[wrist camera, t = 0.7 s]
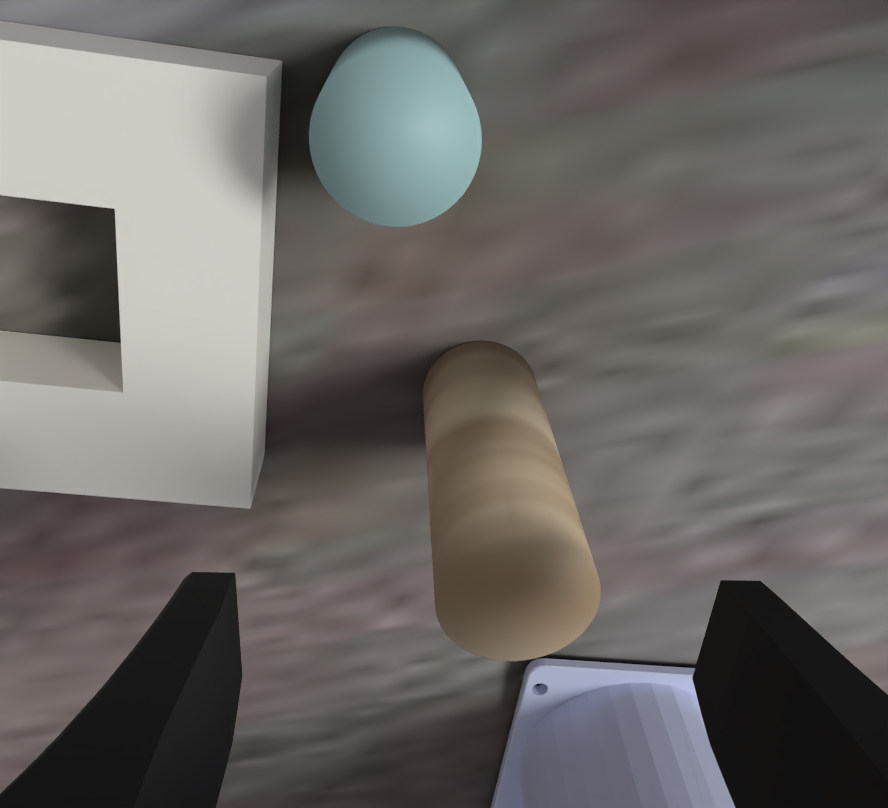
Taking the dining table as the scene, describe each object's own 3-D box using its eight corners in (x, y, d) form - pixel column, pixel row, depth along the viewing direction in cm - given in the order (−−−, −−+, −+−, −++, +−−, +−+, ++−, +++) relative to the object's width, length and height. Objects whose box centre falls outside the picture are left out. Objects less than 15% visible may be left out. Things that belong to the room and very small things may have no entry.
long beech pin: (524, 446, 23) (580, 666, 16) (415, 436, 23) (425, 655, 16) (545, 347, 22) (618, 540, 15) (430, 335, 21) (448, 527, 14)
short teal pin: (453, 177, 19) (467, 235, 15) (323, 160, 19) (303, 216, 15) (472, 37, 18) (495, 63, 14) (332, 16, 18) (315, 37, 14)
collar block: (264, 454, 23) (250, 508, 20) (-130, 419, 22) (-189, 472, 19) (282, 60, 18) (266, 76, 16) (-220, -11, 17) (-311, -4, 15)
